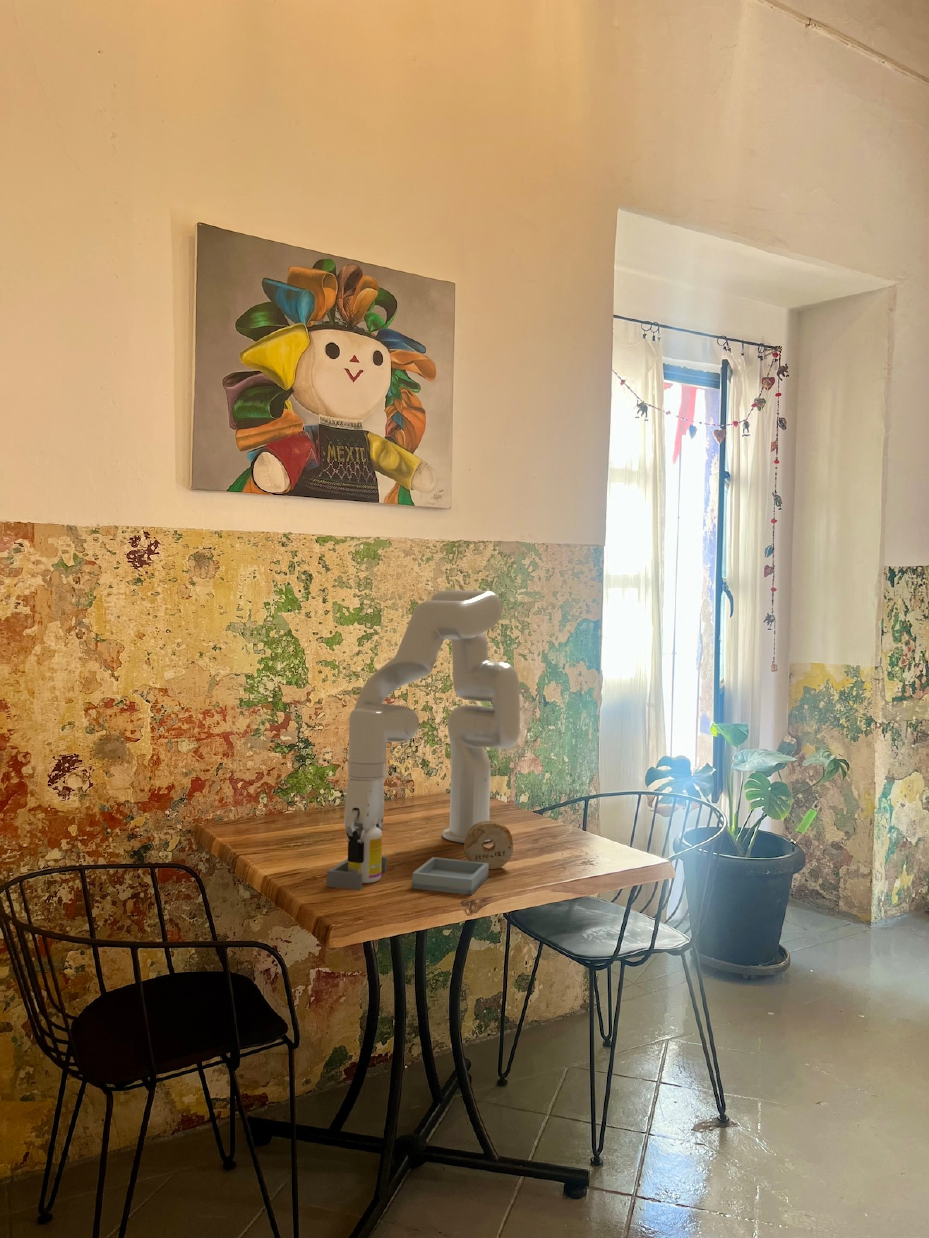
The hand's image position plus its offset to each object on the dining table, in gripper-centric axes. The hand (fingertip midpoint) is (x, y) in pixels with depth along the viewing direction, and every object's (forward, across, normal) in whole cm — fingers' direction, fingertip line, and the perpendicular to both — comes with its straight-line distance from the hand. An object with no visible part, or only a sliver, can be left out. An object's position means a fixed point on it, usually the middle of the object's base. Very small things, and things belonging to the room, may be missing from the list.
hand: (364, 855), depth 184 cm
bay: (+5, 0, -2) cm, 5 cm away
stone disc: (+5, -17, +21) cm, 28 cm away
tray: (+5, -4, +17) cm, 18 cm away
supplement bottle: (+5, 0, 0) cm, 5 cm away
